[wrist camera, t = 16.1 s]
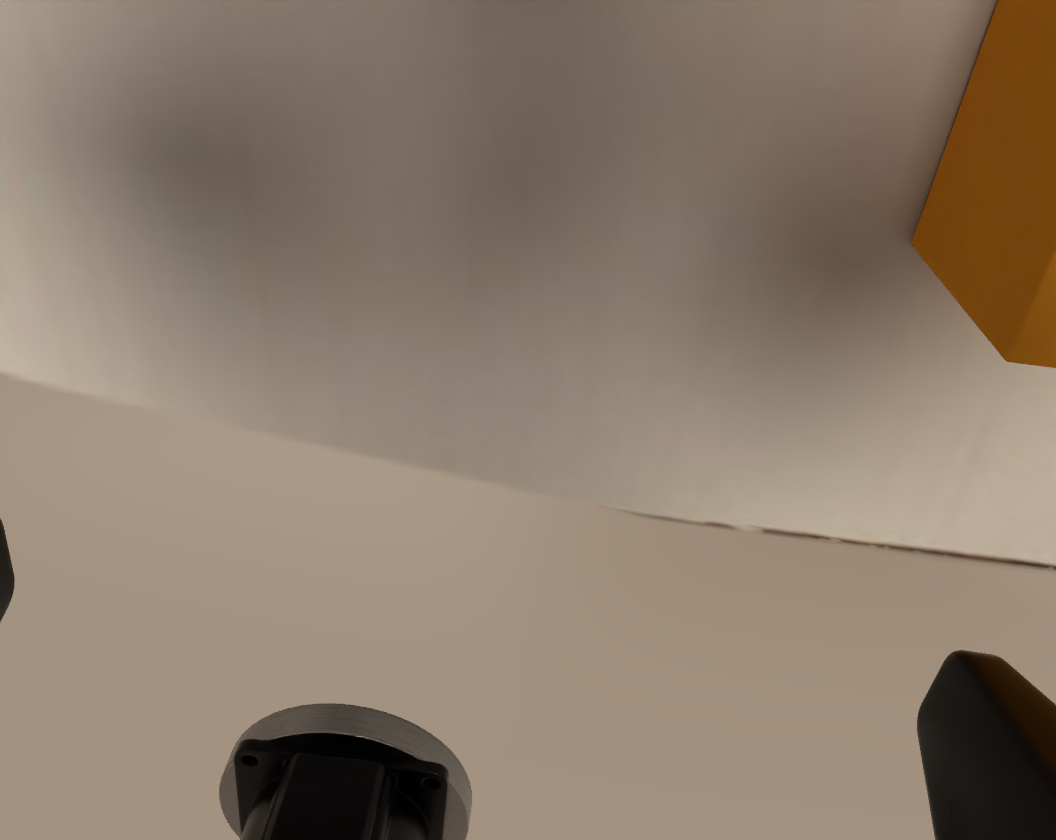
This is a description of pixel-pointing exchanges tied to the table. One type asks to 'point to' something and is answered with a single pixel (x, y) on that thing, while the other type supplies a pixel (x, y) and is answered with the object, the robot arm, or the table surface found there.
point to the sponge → (1002, 188)
